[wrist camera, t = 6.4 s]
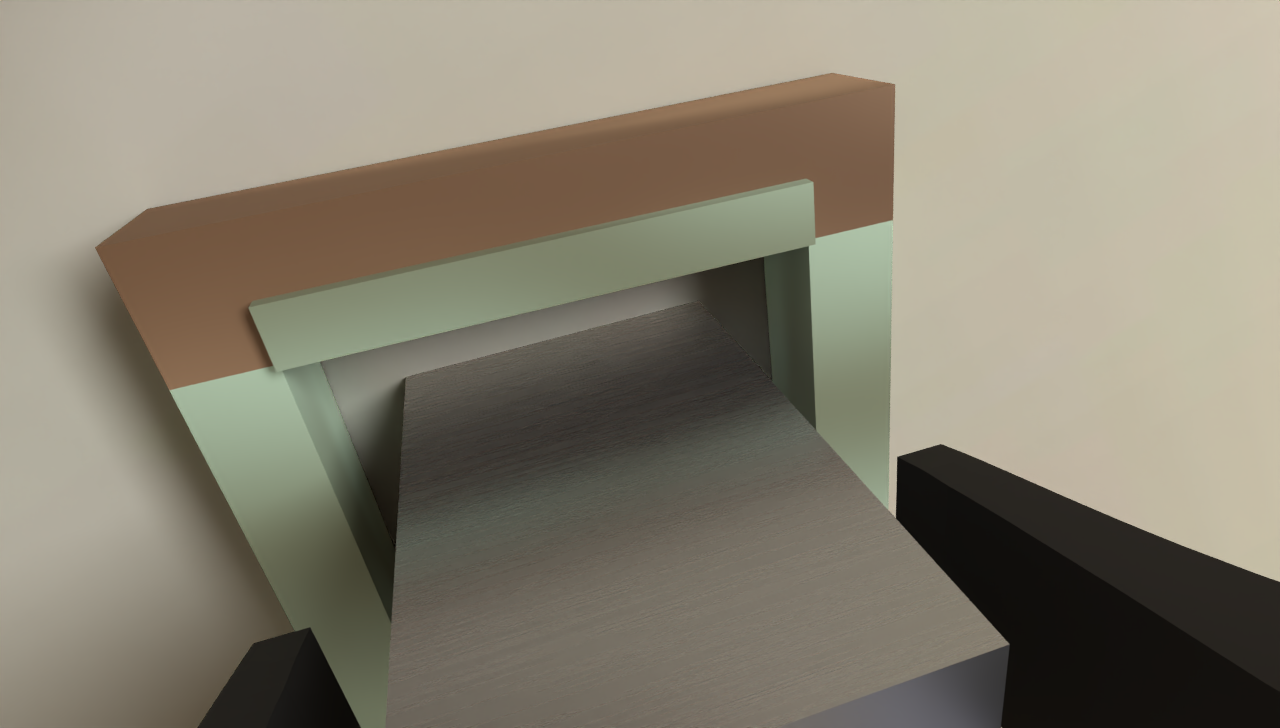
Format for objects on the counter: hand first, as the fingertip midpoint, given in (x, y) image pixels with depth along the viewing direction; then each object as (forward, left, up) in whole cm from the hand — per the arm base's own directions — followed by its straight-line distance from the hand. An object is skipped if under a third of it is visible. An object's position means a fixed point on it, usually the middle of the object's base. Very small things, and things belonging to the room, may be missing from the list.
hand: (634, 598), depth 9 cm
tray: (-5, 0, -3) cm, 6 cm away
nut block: (0, 0, -3) cm, 4 cm away
